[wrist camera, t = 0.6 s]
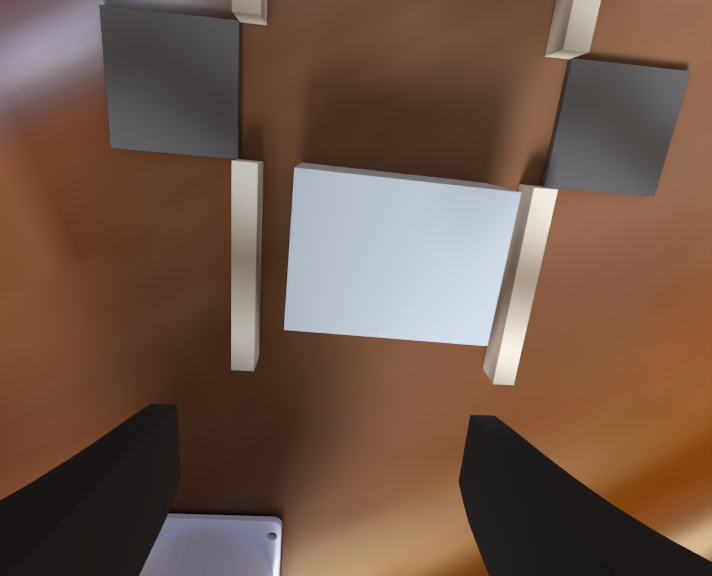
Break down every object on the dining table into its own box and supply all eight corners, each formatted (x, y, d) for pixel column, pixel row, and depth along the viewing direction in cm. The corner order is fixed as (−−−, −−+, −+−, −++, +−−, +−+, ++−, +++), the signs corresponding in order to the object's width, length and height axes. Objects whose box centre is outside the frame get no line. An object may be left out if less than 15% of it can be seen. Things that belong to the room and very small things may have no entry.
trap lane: (597, 374, 23) (635, 408, 20) (129, 348, 21) (97, 381, 18) (779, -251, 15) (883, -341, 12) (74, -374, 13) (4, -512, 10)
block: (460, 309, 21) (487, 346, 18) (292, 295, 21) (283, 329, 17) (484, 182, 19) (521, 192, 16) (302, 162, 19) (294, 167, 15)
